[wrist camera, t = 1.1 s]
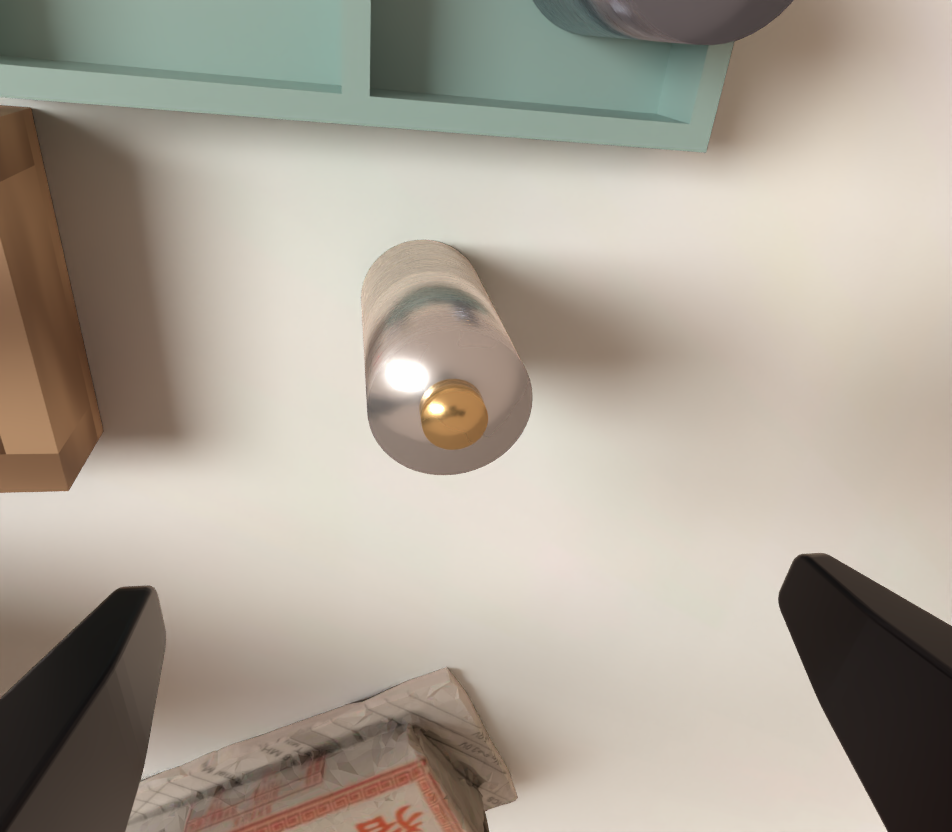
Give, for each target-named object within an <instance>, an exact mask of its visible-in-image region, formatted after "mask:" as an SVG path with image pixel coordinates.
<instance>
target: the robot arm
mask: <svg viewBox="0 0 952 832" xmlns="http://www.w3.org/2000/svg"><path fill="white" fill-rule="evenodd" d="M778 601H779V607H780V610H781V613H782V615H783V618H784V620H785V622H786V625H787V627H788V630H789V632H790V634H791V637H792V639H793V642H794V644H795V646H796V649H797V651H798V653H799V656H800V658H801V661H802V663H803V665H804V668H805V670H806V673H807V675H808V677H809V680H810V682H811V684H812V687H813V689H814V691H815V694H816V696H817V698H818V700H819V703H820V705H821V707H822V709H823V711H824V713H825V715H826V717H827V719H828V720H829V722H830V724H831V726H832V728H833V730H834V732H835V734H836V735H837V737H838V739H839V741H840V743H841V745H842V747H843V749H844V750H845V752H846V754H847V756H848V758H849V760H850V762H851V764H852V765H853V767H854V769H855V771H856V773H857V775H858V777H859V779H860V780H861V782H862V784H863V786H864V788H865V790H866V792H867V794H868V795H869V797H870V799H871V801H872V803H873V805H874V807H875V809H876V810H877V812H878V814H879V816H880V818H881V820H882V822H883V824H884V825H885V827H886V829H887V831H888V832H952V626H951V625H949V624H947V623H945V622H944V621H942V620H940V619H939V618H937V617H935V616H933V615H932V614H930V613H928V612H926V611H925V610H923V609H921V608H920V607H918V606H916V605H914V604H913V603H911V602H909V601H908V600H906V599H904V598H902V597H901V596H899V595H897V594H895V593H894V592H892V591H890V590H889V589H887V588H885V587H883V586H882V585H880V584H878V583H876V582H875V581H873V580H871V579H870V578H868V577H866V576H864V575H863V574H861V573H859V572H857V571H856V570H854V569H852V568H851V567H849V566H847V565H845V564H844V563H842V562H840V561H838V560H837V559H835V558H833V557H832V556H830V555H827V554H824V553H812V554H801V555H798V556H797V557H796V558H795V559H794V560H793V562H792V564H791V567H790V569H789V571H788V573H787V576H786V578H785V580H784V582H783V585H782V587H781V589H780V592H779V597H778ZM165 645H166V631H165V625H164V621H163V616H162V612H161V607H160V603H159V598H158V594H157V591H156V590H155V588H154V587H152V586H129V587H121V588H119V589H117V590H115V591H114V592H113V593H112V594H111V595H109V596H108V597H107V598H106V599H105V600H104V601H103V602H102V603H101V604H100V605H99V606H98V607H97V608H96V609H95V610H94V611H92V612H91V613H90V614H89V615H88V616H87V617H86V618H85V619H84V620H83V621H82V622H81V623H80V624H79V625H78V626H76V627H75V628H74V629H73V630H72V631H71V632H70V633H69V634H68V635H67V636H66V637H65V638H64V639H63V640H62V641H61V642H59V643H58V644H57V645H56V646H55V647H54V648H53V649H52V650H51V651H50V652H49V653H48V654H47V655H46V656H45V657H44V658H42V659H41V660H40V661H39V662H38V663H37V664H36V665H35V666H34V667H33V668H32V669H31V670H30V671H29V672H28V673H27V674H25V675H24V676H23V677H22V678H21V679H20V680H19V681H18V682H17V683H16V684H15V685H14V686H13V687H12V688H11V689H10V690H8V691H7V692H6V693H5V694H4V695H3V696H2V697H1V698H0V832H125V831H126V828H127V824H128V821H129V818H130V814H131V811H132V807H133V804H134V801H135V797H136V794H137V791H138V787H139V783H140V780H141V776H142V772H143V768H144V764H145V758H146V753H147V748H148V743H149V737H150V731H151V726H152V720H153V714H154V709H155V703H156V698H157V692H158V686H159V681H160V675H161V669H162V664H163V658H164V652H165Z"/></svg>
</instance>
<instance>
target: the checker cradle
mask: <svg viewBox="0 0 952 832" xmlns="http://www.w3.org/2000/svg"><path fill="white" fill-rule="evenodd" d="M102 433H103V427H102V423H101V418H100V414H99V409H98V405H97V400H96V396H95V391H94V387H93V383H92V378H91V374H90V369H89V365H88V360H87V356H86V351H85V347H84V342H83V338H82V333H81V329H80V325H79V320H78V316H77V311H76V307H75V302H74V298H73V293H72V289H71V284H70V280H69V275H68V271H67V267H66V262H65V258H64V253H63V249H62V244H61V240H60V235H59V231H58V226H57V222H56V218H55V213H54V209H53V204H52V200H51V195H50V191H49V186H48V182H47V177H46V173H45V168H44V164H43V160H42V155H41V151H40V146H39V142H38V137H37V133H36V128H35V124H34V119H33V115H32V110H31V108H29V107H16V106H3V105H0V493H5V492H47V491H69V489H70V488H71V486H72V484H73V482H74V481H75V479H76V477H77V476H78V474H79V472H80V470H81V469H82V467H83V465H84V464H85V462H86V460H87V458H88V457H89V455H90V453H91V452H92V450H93V448H94V446H95V445H96V443H97V441H98V440H99V438H100V436H101V434H102Z"/></svg>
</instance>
